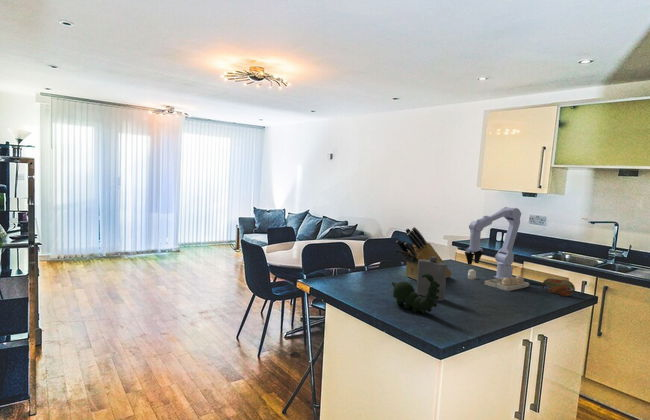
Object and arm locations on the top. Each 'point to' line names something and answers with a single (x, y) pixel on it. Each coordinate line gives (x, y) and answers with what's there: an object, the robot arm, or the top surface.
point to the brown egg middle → (513, 280)
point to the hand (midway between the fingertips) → (473, 263)
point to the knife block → (417, 252)
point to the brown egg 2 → (520, 279)
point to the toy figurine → (416, 295)
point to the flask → (436, 271)
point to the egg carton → (498, 284)
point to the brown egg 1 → (506, 282)
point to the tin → (558, 286)
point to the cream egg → (471, 274)
